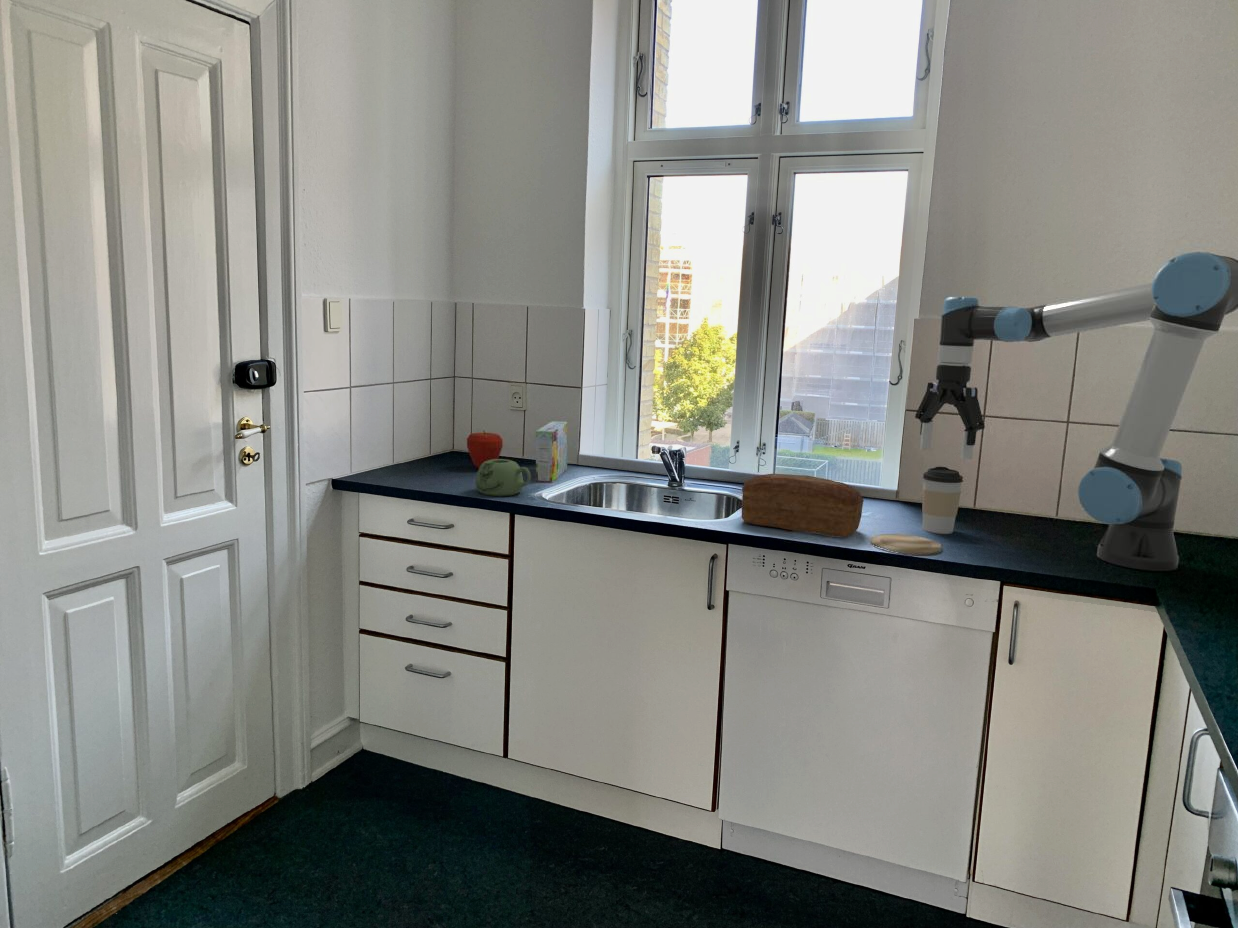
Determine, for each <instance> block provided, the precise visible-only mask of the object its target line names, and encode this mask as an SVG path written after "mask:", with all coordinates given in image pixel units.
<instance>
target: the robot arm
mask: <svg viewBox="0 0 1238 928" xmlns="http://www.w3.org/2000/svg"><path fill="white" fill-rule="evenodd" d="M1236 310H1238V259H1236V258H1233V257H1230V256H1226V255H1225V256H1224V255H1219V254H1215V253H1210V252H1208V251H1207V252H1205V251H1204V252H1203V251H1202V252H1201V251H1196V252H1187V253H1183V254H1180V255H1177V256H1175V257H1173V258H1171V259H1169V260H1168V261H1167V262H1165V263H1164V264H1163V265H1162V266H1161V267H1160V268H1159V269H1158V271H1157V272H1156V274H1155V276H1154V278H1153V280H1152V282H1150V283H1145V284H1141V285H1136V286H1129V287H1126V288H1120V289H1116V290H1115V289H1114V290H1111V291H1105V292H1101V293H1095V294H1090V295H1086V296H1082V297H1081V296H1080V297H1076V298H1070V299H1067V300H1063V301H1058V302H1052V303H1048V304H1042V305H1037V306H1032V307H1019V306H983V305H981V306H980V304H979V300H978V297H971V296H970V297H968V296H948V297H947V298H945V299H944V301H943V307H942V312H941V313H942V314H941V324H940V325H941V326H940V337H939V345H938V351H937V362H938V363H939V364H937V366H936V373H935V380H937V381H938V382H931V381H929V382H928V383H927V387H926V391H925V393H924V396H923V397H922V400H921V402H920V404H919V406H918V409H917V411H916V413H915V416H914V417H915V419H918V420H919V421H920V430H919V431H920V433H919V434H920V445H919V446H920V447H919V450H921V451H923V450H924V451H925V450H926V451H927V450H929V451H930V450H932V441H933V431H934V423H933V419H934V418H935V416H936V415H937V414H938V413H939V411H940V410H941V409H942V407H944V406H945V405H946V404H947V405H951V406H953V407H954V408H956V410H957V412H958V415H959V416H960V419H961V421H962V424H963V425H964V428H965V429H964V430H963V431H962V440H961V447H960V448H961V449H960V457H959V459H960V460H972V459H973V450H974V446H975V445H976V439H977V433H978V431H980V430H981V431H982V430H985V428H986V427H985V423H984V419H983V415H982V409H981V407H980V401H979V398H978V392H979V391H978V387H976V386H975V387H971V386H970V387H968V386H967V384H968V383H969V382H970V381H971V373H972V367H971V365H970V364H972V362H973V353H974V344H975V340H977V341H978V340H979V341H981V340H983V341H993V342H994V341H995V342H1005V343H1014V342H1017V343H1019V342H1027V343H1028V342H1029V343H1034V342H1039V341H1040V342H1041V341H1043V340H1045V339H1048V338H1054V337H1058V336H1065V335H1070V334H1076V333H1081V332H1082V333H1083V332H1087V331H1092V330H1100V329H1106V328H1110V327H1111V328H1112V327H1118V326H1122V325H1123V326H1124V325H1129V324H1133V323H1135V324H1136V323H1140V322H1145V321H1147V322H1148V321H1150V322H1151V324H1152V326H1153V328H1154V330H1153V332H1152V335H1151V337H1150V340H1149V343H1148V345H1147V347H1146V352H1145V354H1144V356H1143V360H1142V362H1141V365H1140V367H1139V370H1138V373H1137V376H1136V379H1135V380H1134V383H1133V386H1132V390H1131V392H1130V394H1129V397H1128V400H1127V403H1126V406H1125V408H1124V411H1123V414H1122V415H1121V419H1120V421H1119V425H1118V427H1117V429H1116V432H1115V436H1114V438H1113V440H1112V443H1111V444H1110V445H1108V446H1106V447H1103V448H1101V449H1100V451H1099V454H1098V457H1097V459H1096V462H1095V464H1094V468H1092V469H1091V470H1089V471H1087V473H1086V474H1084V475H1083V477H1082V478H1081V479H1080V482H1079V483H1078V488H1077V492H1078V493H1077V494H1078V500H1079V503H1080V505H1081V506H1082V508H1083V511H1085V513H1086V514H1087V515H1088V516H1090V517H1091V518H1092V519H1094V520H1095V521H1097V522H1100V523H1103V524H1107V525H1108V527H1107V529H1106V531H1105V532H1104V534H1103V536H1102V538H1101V539H1100V542H1099V543H1098V545H1097V552H1096V556H1097V558H1099V559H1100V560H1102V561H1104V562H1107V563H1110V564H1113V565H1116V566H1120V567H1125V568H1129V569H1135V570H1143V571H1153V572H1154V571H1155V572H1166V571H1167V572H1168V571H1174V570H1177V569H1178V566H1179V560H1180V558H1179V557H1180V556H1179V554H1178V549H1177V545H1176V544H1177V543H1176V540H1175V535H1174V526H1175V520H1176V513H1177V507H1178V499H1179V493H1180V486H1181V482H1182V479H1183V474H1182V471H1183V465H1182V463H1181V462H1180V461H1179V460H1175V459H1169V458H1163V457H1162V458H1161V457H1160V456H1161V453H1162V451H1163V448H1164V446H1165V443H1166V440H1167V437H1168V436H1169V433H1170V430H1171V428H1172V426H1173V423H1174V420H1175V417H1176V414H1177V413H1178V409H1179V407H1180V405H1181V402H1182V400H1183V397H1184V394H1185V391H1186V390H1187V387H1188V384H1189V381H1190V379H1191V377H1192V374H1193V371H1194V369H1195V366H1196V364H1197V361H1198V359H1199V356H1200V354H1201V351H1202V348H1203V346H1204V343H1205V341H1206V340H1207V339H1209V338H1210V337H1212V336H1214V335H1216V334H1218V333H1219V330H1220V328H1221V326H1222V324H1223V320H1224V318H1225V316H1226V315H1229V314H1231V313H1233V312H1235V311H1236Z"/></svg>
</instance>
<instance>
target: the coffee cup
mask: <svg viewBox="0 0 1238 928" xmlns="http://www.w3.org/2000/svg"><path fill="white" fill-rule="evenodd" d="M922 478H923V485H922V506H921V507H922V509H921V510H922V530H923V531H925V532H929V533H933V534H944V535H945V534H946V535H947V534H953V532H954V529H955V528H954V527H955V522H956V517H957V514H958V511H959V503H960V498H961V494H962V492H961V489H962V483H963V482H964V480H963V479H964V477H963V475H960V472H959V471H958V470H956V469H950V468H949V467H946V466H935V467H930V468H928V470H927V471H926V472H924V473H923V476H922Z"/></svg>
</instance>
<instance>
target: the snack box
mask: <svg viewBox="0 0 1238 928" xmlns="http://www.w3.org/2000/svg"><path fill="white" fill-rule="evenodd" d="M567 470H568V422H567V421H553V420H552V421H551V422H549V423H547V424H546V425H544V426H542V427H541V428H538V429H537V430H535V482H541V483H542V482H543V483H553V482H555V480H557V479H558V478H559V477H560V476H562V474H563V473H564V472H567Z"/></svg>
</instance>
